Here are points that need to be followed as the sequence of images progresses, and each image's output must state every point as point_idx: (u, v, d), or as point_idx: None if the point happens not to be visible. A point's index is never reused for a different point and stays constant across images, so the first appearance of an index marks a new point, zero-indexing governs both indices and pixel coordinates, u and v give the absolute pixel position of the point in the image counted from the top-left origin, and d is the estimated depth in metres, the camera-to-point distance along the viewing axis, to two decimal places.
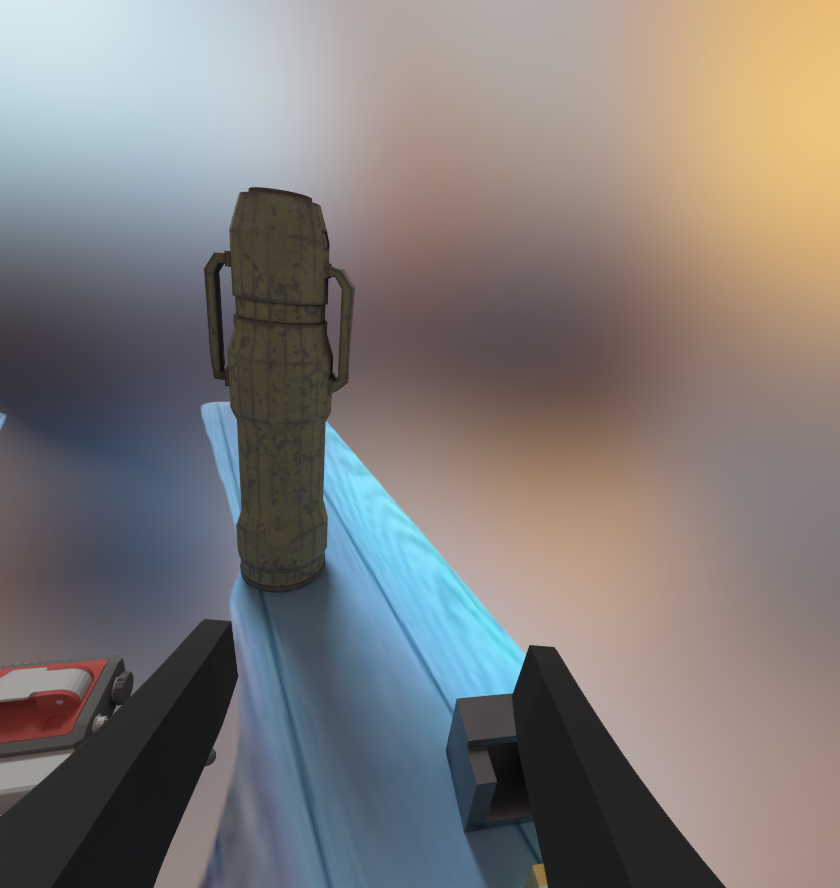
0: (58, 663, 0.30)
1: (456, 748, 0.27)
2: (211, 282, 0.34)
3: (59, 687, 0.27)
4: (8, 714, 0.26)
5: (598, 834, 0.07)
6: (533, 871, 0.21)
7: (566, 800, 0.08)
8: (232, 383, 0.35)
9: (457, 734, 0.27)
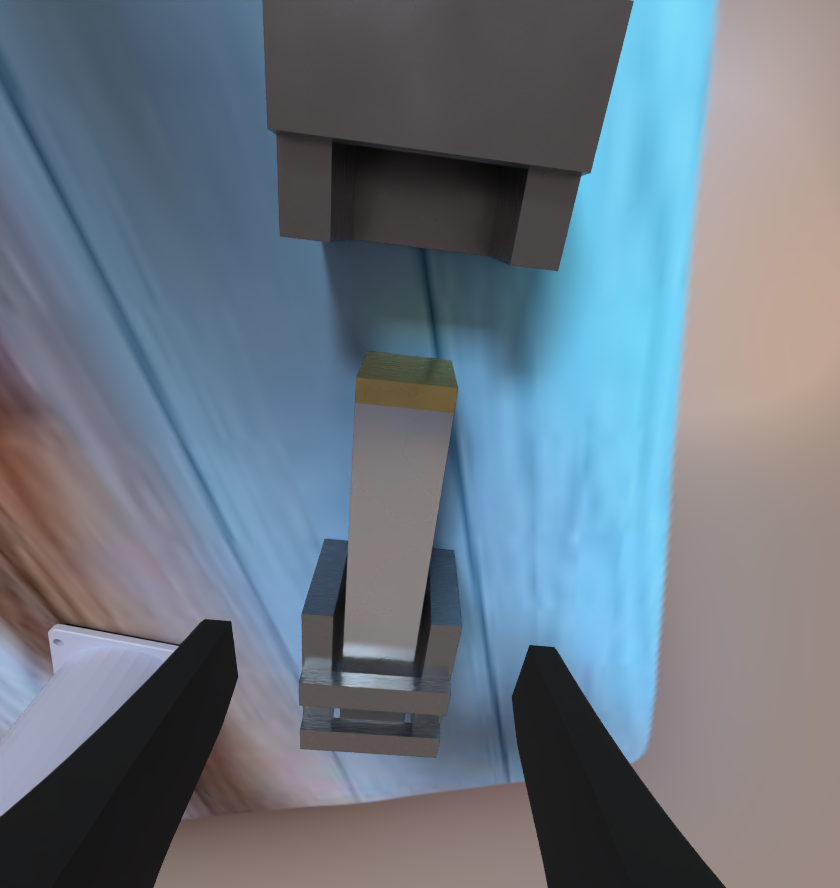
0: None
1: None
2: None
3: None
4: None
5: (598, 834, 0.07)
6: (356, 383, 0.12)
7: (566, 800, 0.08)
8: None
9: None
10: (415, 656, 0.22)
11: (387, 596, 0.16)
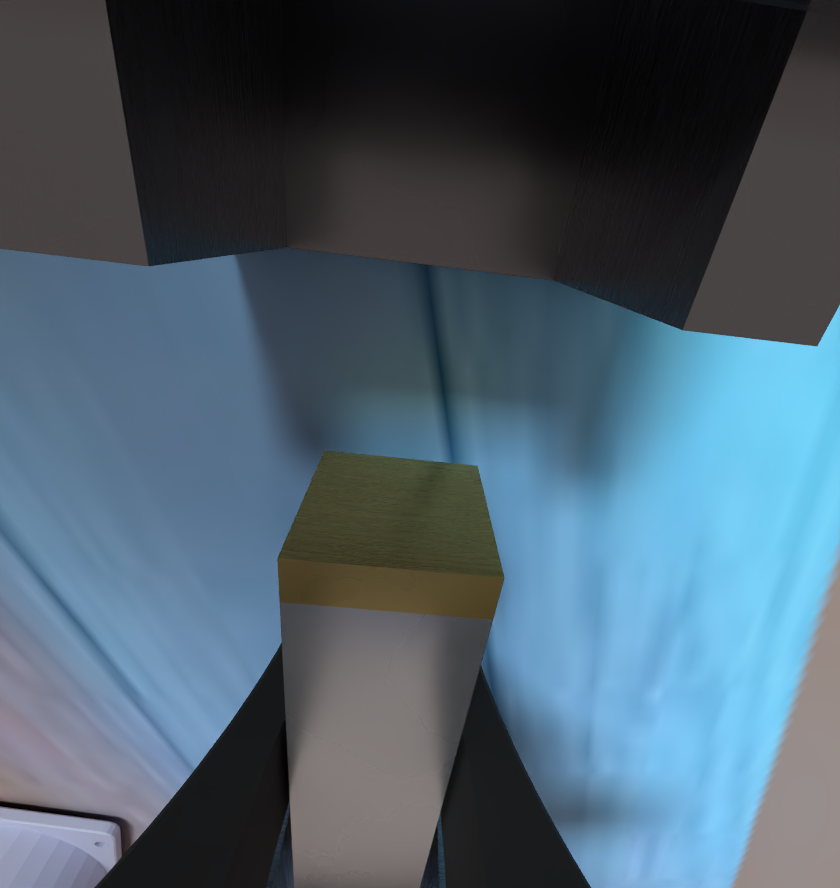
0: None
1: None
2: None
3: None
4: None
5: (473, 827, 0.07)
6: (279, 566, 0.06)
7: (457, 794, 0.08)
8: None
9: None
10: None
11: (364, 858, 0.09)
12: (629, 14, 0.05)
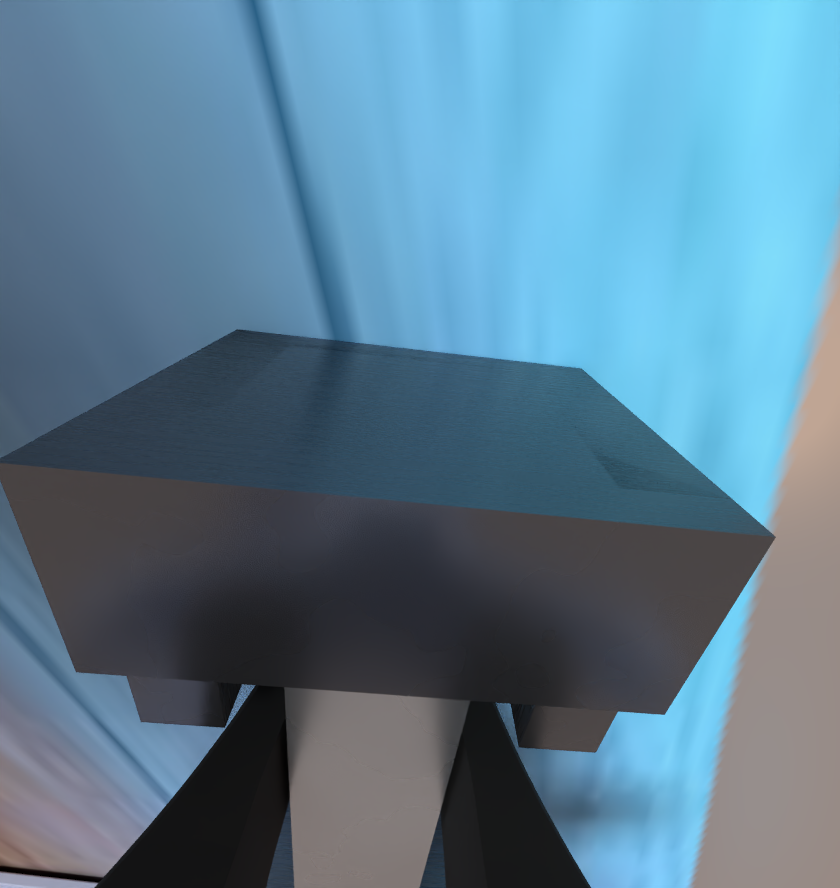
0: None
1: None
2: None
3: None
4: None
5: (473, 827, 0.07)
6: None
7: (458, 793, 0.08)
8: None
9: None
10: None
11: (364, 859, 0.10)
12: None
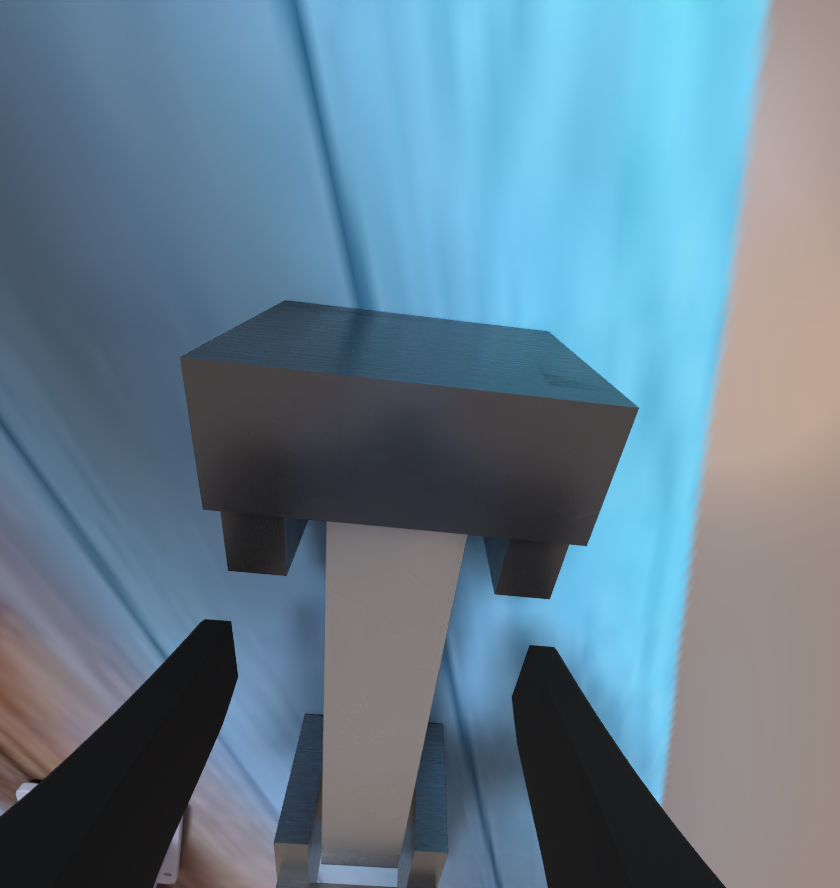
0: None
1: None
2: None
3: None
4: None
5: (598, 834, 0.07)
6: None
7: (566, 800, 0.08)
8: None
9: None
10: None
11: (379, 719, 0.12)
12: None
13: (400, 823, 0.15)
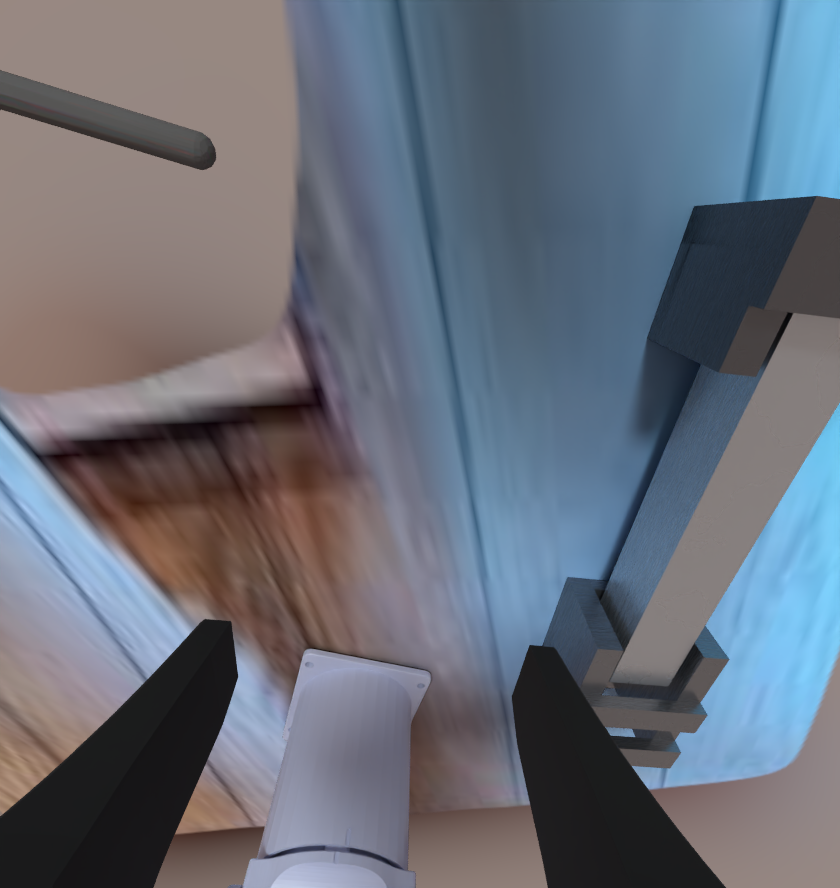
0: None
1: (722, 254, 0.13)
2: None
3: None
4: None
5: (598, 834, 0.07)
6: None
7: (566, 800, 0.08)
8: None
9: (746, 246, 0.12)
10: None
11: (729, 524, 0.16)
12: None
13: (694, 635, 0.19)
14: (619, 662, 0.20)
